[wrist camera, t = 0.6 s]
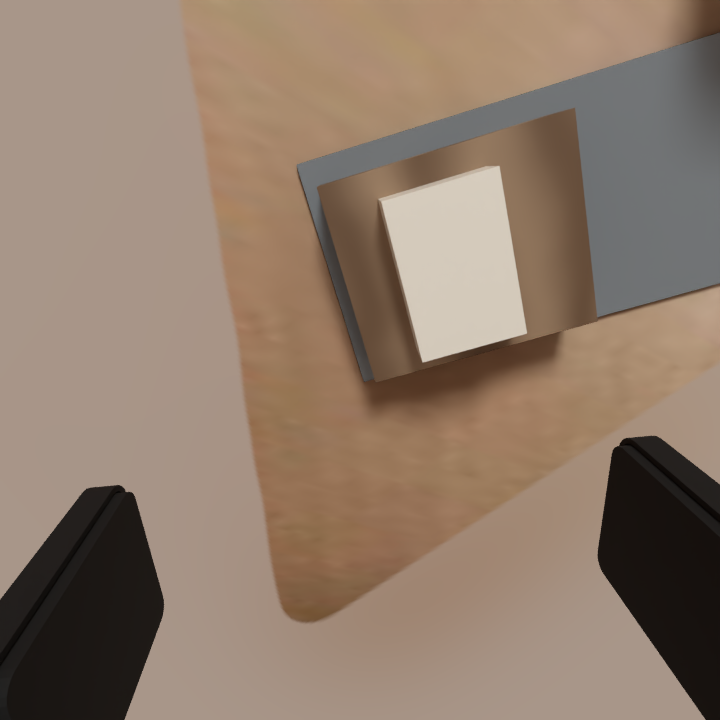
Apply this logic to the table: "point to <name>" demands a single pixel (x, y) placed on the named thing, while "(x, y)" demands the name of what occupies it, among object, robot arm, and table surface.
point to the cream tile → (455, 262)
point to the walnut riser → (527, 227)
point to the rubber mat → (597, 172)
